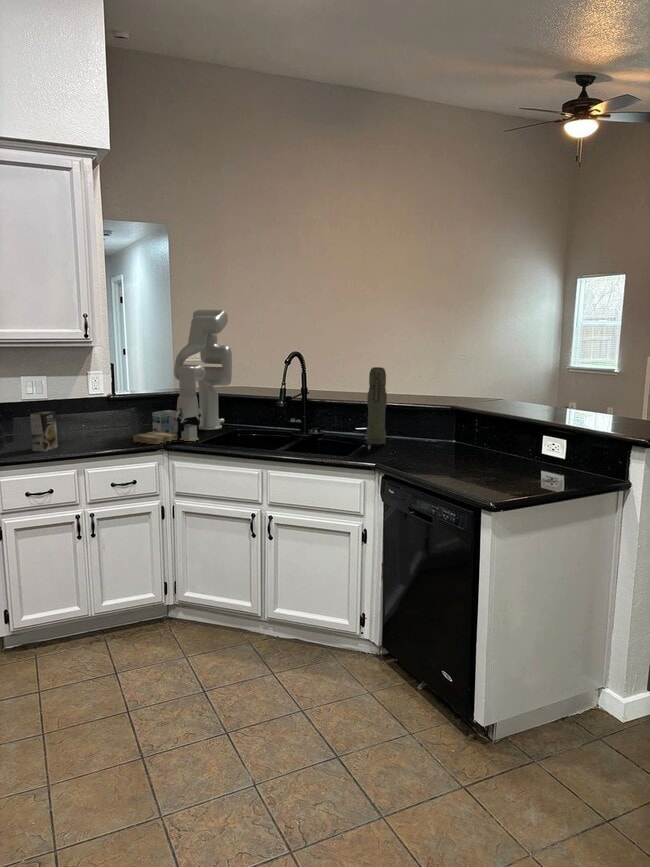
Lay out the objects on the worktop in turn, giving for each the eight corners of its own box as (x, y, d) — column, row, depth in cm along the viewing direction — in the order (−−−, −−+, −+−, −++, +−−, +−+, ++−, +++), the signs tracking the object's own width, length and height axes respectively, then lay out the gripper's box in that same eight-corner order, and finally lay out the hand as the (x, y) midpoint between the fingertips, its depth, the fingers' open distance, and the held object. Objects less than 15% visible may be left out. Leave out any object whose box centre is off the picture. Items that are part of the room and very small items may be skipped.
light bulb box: (161, 435, 311) (160, 413, 309) (152, 434, 315) (151, 412, 313) (178, 432, 319) (177, 411, 317) (169, 431, 323) (169, 409, 321)
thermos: (366, 445, 291) (368, 368, 285) (365, 440, 303) (367, 366, 296) (386, 446, 291) (388, 369, 285) (384, 441, 303) (386, 366, 296)
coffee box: (45, 451, 273) (42, 414, 270) (32, 451, 274) (29, 413, 271) (58, 447, 282) (56, 411, 278) (45, 446, 283) (42, 410, 280)
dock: (156, 437, 306) (156, 430, 306) (177, 440, 299) (177, 434, 299) (133, 442, 295) (133, 435, 294) (155, 445, 287) (155, 438, 287)
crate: (189, 439, 303) (188, 424, 302) (198, 440, 300) (198, 425, 299) (180, 441, 298) (179, 425, 297) (189, 442, 295) (189, 427, 294)
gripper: (194, 391, 304) (195, 426, 307) (168, 394, 290) (169, 431, 292) (206, 392, 300) (207, 428, 303) (180, 395, 286) (181, 433, 289)
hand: (188, 429), depth 298 cm, fingers open, 9 cm apart
